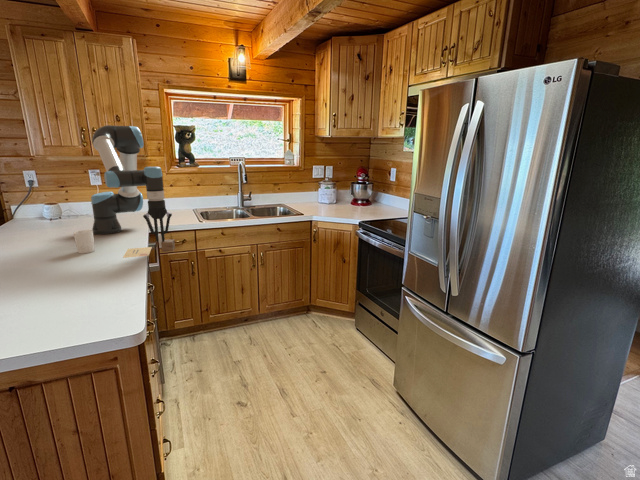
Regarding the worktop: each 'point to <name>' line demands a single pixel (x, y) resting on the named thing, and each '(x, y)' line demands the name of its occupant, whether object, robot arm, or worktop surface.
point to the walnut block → (168, 245)
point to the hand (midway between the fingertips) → (161, 247)
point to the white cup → (84, 241)
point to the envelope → (137, 252)
